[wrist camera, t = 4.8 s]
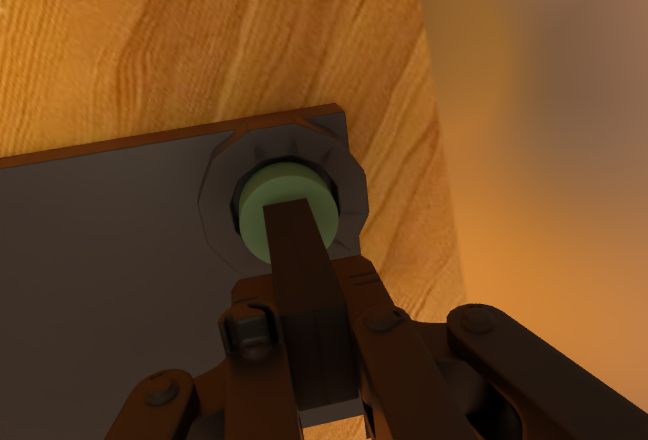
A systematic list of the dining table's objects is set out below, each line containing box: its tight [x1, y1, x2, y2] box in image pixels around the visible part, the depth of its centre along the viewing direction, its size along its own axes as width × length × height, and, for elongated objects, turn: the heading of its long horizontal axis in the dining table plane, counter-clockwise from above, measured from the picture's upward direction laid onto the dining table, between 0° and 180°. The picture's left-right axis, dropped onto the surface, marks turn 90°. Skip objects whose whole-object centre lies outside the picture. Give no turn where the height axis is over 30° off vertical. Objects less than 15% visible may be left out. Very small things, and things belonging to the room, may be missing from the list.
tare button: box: [239, 162, 339, 264], centre depth 19 cm, size 4×4×2 cm
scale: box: [0, 103, 369, 440], centre depth 22 cm, size 18×16×4 cm
